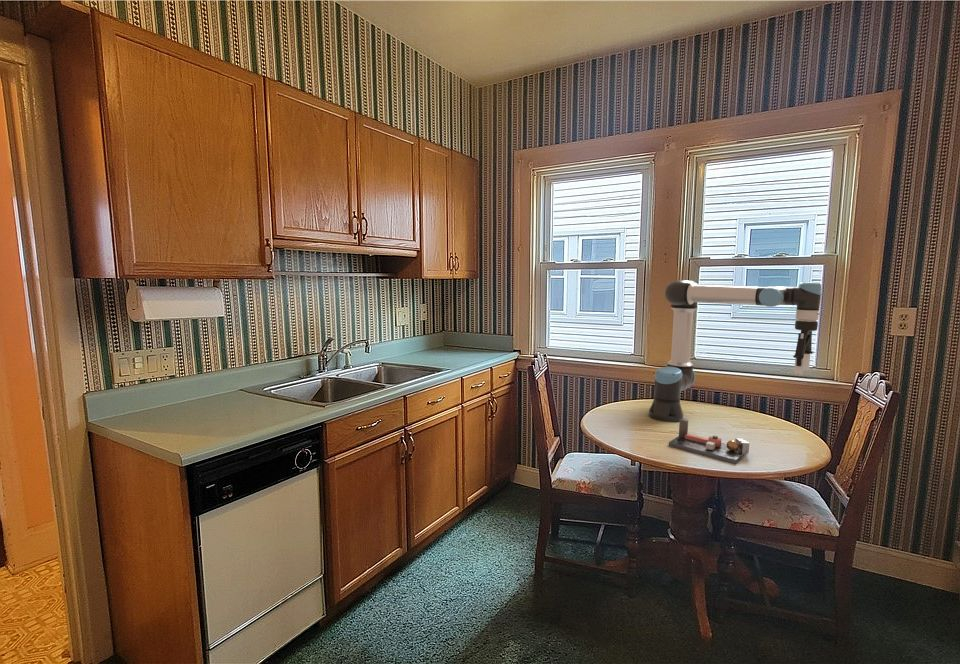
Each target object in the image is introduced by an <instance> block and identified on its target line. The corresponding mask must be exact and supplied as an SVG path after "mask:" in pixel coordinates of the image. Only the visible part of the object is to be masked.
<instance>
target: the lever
mask: <svg viewBox="0 0 960 664" xmlns="http://www.w3.org/2000/svg"><path fill="white" fill-rule="evenodd" d="M688 429H689V419H686V418H683V419H680V421H679V427H678V436H679V437H681V438H686V439H690V440H694V441H698V442H702V443H706V449H710V450H713V449H714V448H715V447H721V443H722V438H720V437H719V436H717V435H712V436H709V437H708V438H707V437H703V436H699V435H696V434H695V435H694V434H691V433H689V432H688Z"/></svg>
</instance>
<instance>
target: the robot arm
mask: <svg viewBox="0 0 960 664" xmlns="http://www.w3.org/2000/svg"><path fill="white" fill-rule="evenodd" d="M663 294H664V298H665V300H666V301H667V302H668V303H669V305H670V309H671V310H672V311H673V319H672V321H673V323H672V336H671V338H672V339H671V351H670V352H671V354H670V355H671V356H670V360H668V361H667V363H666V366H661V367H658V368H656V370H655V374H654V383H653V384H654V387H653V389H654V390H653V400H652V402H651V405H650V408H649V410H648V416H649V417H650V418H651V419H654V420H657V421H661V422H665V423H666V422H668V423H676V422H677V423H678V422H680V419H684V412H683V408H682V405H681V393H682V392H683V391H686V390H688V389H689V388H691V387H692V386H693V385H694V383H695V381H696V374H695V373H696V372H695V371H694V364H693V362H691V350H692V349H691V348H692V338H693V337H692V335H693V319H694V312H695V311H697V310H698V303H699V304H725V305H741V306H742V305H747V306H763V307H770V308H771V307H772V308H773V307H776V306H780V305H781V306H783V305H784V306H796V311H795V319H796V320H795V321H794V330H797V331H800V333H798V334H797V335H798V337H797V343H796V347H795V353H794V355H792V357H793V358H794V359H795V361H794V369H793V370H794V371H793V374H795V375H803V374H804V370H810V360H811V355H813V354H814V353H813V352H814V351H812V349H813V348H812V346H813V345H812V341H813V340H812V337H813V332H815V331H817V330H818V327H819V322H818V320H819V316H821V312H820V306H821V300H822V299H821V297H822V284H821V283H820V282H812V281H811V282H808V281H807V282H802V281H801V282H799V284H798V286H775V285H774V286H738V285H737V286H736V285H735V286H734V285H733V286H732V285H730V286H729V285H728V286H727V285H699V284H698V283H697V282H695V281H694V280H690V279H689V280H688V279H685V280H684V279H682V280H681V279H680V280H678V279H677V280H674V281H671V282H669V283H668V284H667V285H666V286H665V288H664V293H663Z"/></svg>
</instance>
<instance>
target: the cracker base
mask: <svg viewBox="0 0 960 664" xmlns="http://www.w3.org/2000/svg"><path fill="white" fill-rule="evenodd" d="M668 446H669V447H671V448H674V449H679V450H682V451H686V452H690V453H693V454H697V455H700V456H704V457H708V458H712V459H715V460H719V461H723V462H726V463H730V464H733V465H737V464H738V462H739V461H741V460H742V458H744V457H745V456H746V455H747V454H749V451H750V442H749V441H747V440H745V439H743V437H740V438H739V437H736V438H735V439H734V440H733V439H731V440H728V441H727V442H726V443H725V442H724V443H722V442H721V447H715V448H714V449H713V450H710V449H706V443H702V442H698V441H694V440H690V439H686V438H681V437H679V435H678V436H676V437H674V438H672V439H671V440H670V441H669V442H668Z"/></svg>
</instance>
